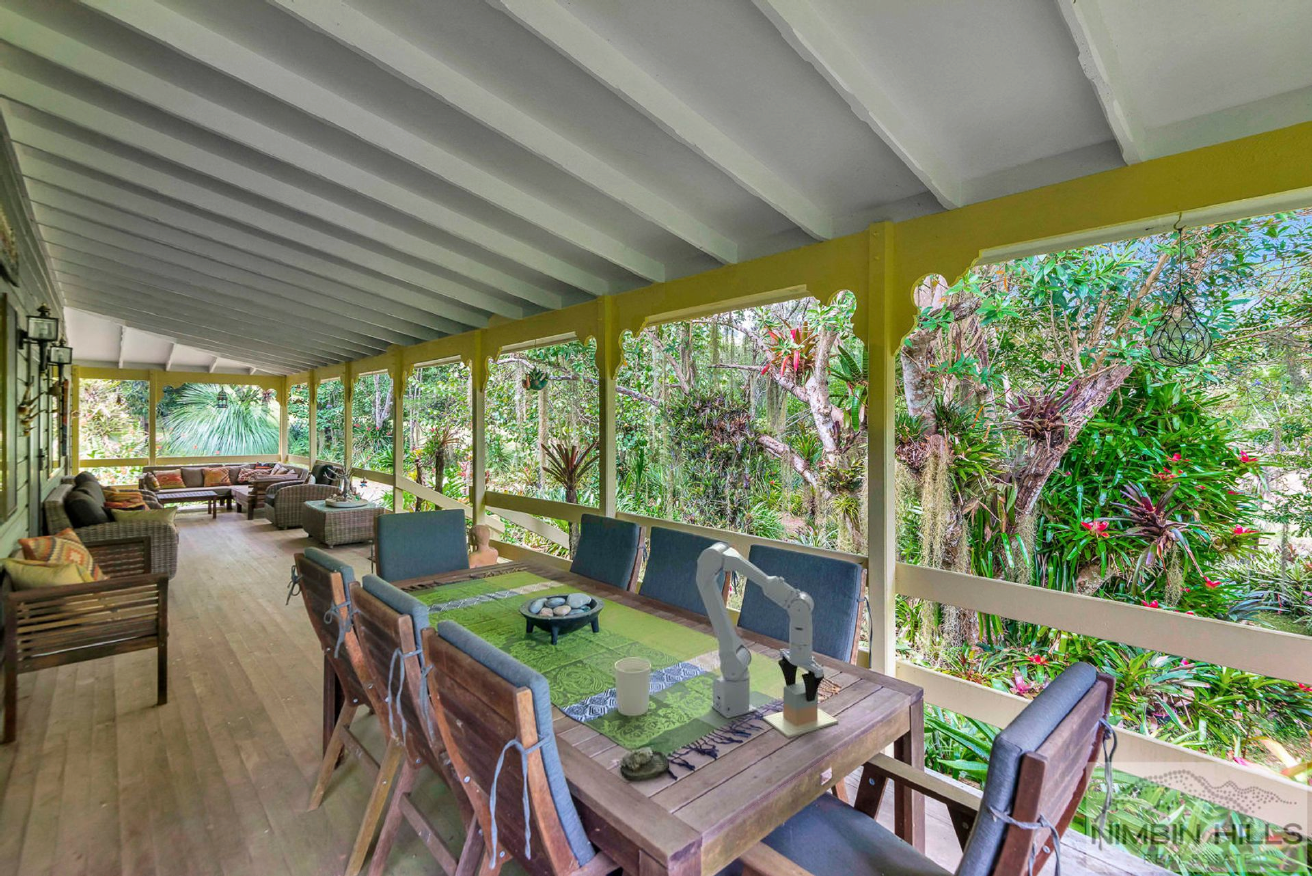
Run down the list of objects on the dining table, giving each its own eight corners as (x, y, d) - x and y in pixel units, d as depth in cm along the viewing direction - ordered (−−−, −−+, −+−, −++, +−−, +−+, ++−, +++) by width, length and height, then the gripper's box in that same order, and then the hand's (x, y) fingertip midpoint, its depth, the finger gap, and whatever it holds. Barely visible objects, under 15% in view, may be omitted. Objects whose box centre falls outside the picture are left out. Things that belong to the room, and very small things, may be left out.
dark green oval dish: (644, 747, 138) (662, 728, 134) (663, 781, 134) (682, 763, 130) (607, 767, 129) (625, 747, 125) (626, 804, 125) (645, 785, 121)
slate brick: (796, 710, 145) (796, 694, 145) (783, 702, 150) (783, 686, 150) (817, 704, 148) (817, 689, 148) (804, 696, 153) (804, 681, 153)
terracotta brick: (795, 726, 146) (796, 710, 145) (783, 717, 150) (783, 702, 150) (817, 720, 149) (817, 704, 148) (804, 711, 153) (804, 696, 153)
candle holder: (609, 714, 153) (609, 669, 152) (622, 697, 162) (622, 655, 162) (644, 720, 150) (644, 674, 149) (655, 702, 159) (655, 659, 159)
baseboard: (788, 737, 141) (788, 735, 141) (763, 719, 150) (763, 716, 150) (837, 722, 148) (837, 720, 148) (811, 705, 157) (811, 703, 157)
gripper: (832, 648, 144) (832, 702, 144) (794, 630, 157) (794, 679, 157) (810, 654, 141) (810, 709, 141) (773, 634, 154) (773, 684, 154)
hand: (800, 694), depth 149 cm, fingers open, 7 cm apart
